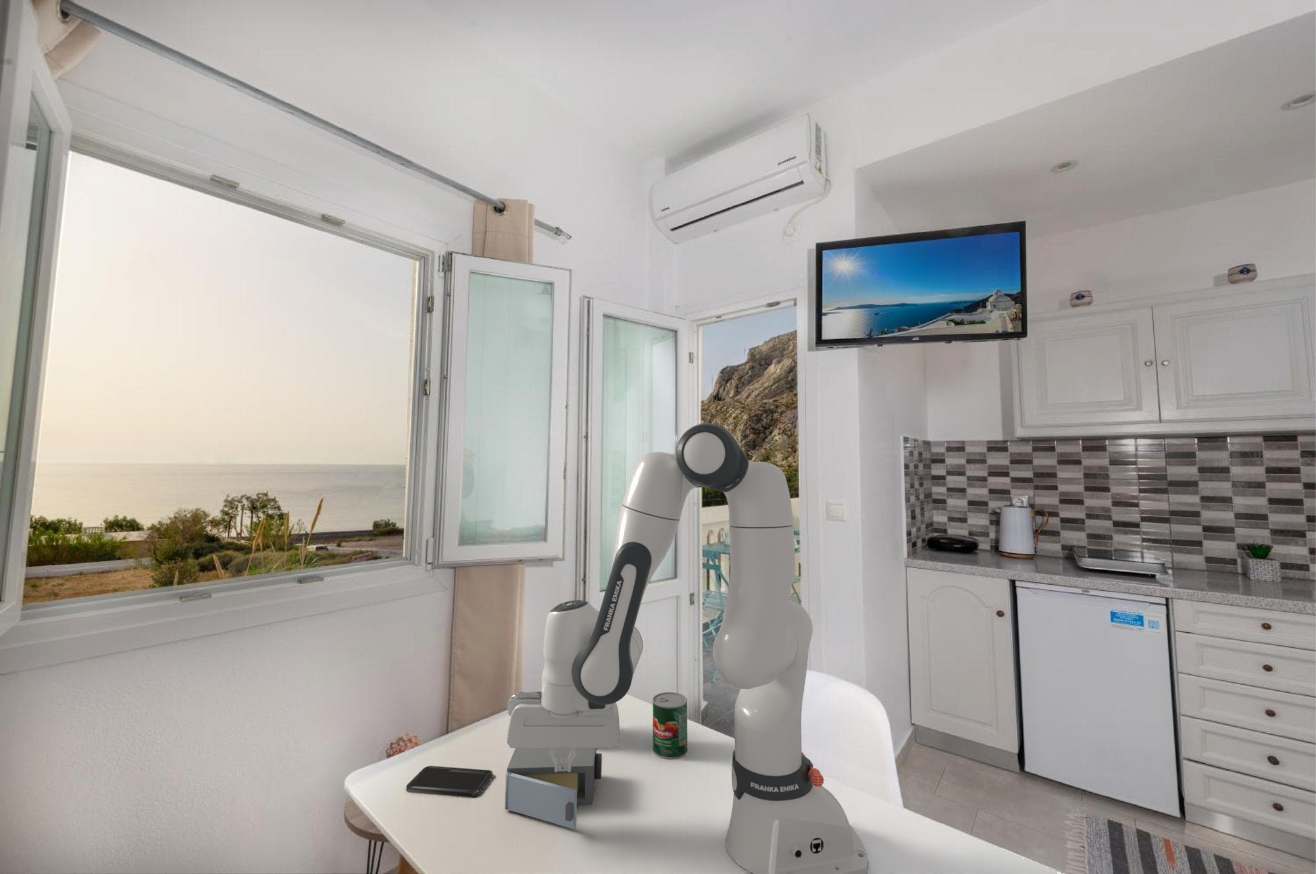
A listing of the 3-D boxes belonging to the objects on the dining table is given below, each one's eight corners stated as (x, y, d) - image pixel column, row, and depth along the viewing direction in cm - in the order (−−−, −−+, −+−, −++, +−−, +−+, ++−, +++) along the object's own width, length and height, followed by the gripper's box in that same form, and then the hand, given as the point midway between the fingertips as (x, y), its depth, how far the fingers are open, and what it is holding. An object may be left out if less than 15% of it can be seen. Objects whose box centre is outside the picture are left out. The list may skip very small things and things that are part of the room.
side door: (576, 825, 89) (577, 789, 89) (570, 832, 87) (571, 796, 88) (507, 805, 94) (508, 771, 95) (500, 811, 93) (501, 777, 93)
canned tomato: (688, 741, 118) (688, 692, 119) (687, 760, 111) (686, 707, 111) (654, 740, 119) (654, 691, 120) (650, 758, 111) (650, 706, 112)
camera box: (601, 774, 105) (602, 739, 106) (599, 804, 95) (599, 765, 96) (517, 777, 104) (518, 741, 105) (506, 808, 94) (507, 768, 95)
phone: (476, 793, 97) (403, 787, 99) (476, 800, 97) (403, 793, 99) (494, 770, 105) (426, 764, 107) (494, 775, 105) (426, 770, 107)
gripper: (504, 699, 90) (500, 781, 89) (620, 700, 91) (618, 780, 90) (512, 684, 96) (509, 760, 95) (621, 685, 97) (619, 760, 96)
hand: (563, 770), depth 93 cm, fingers closed
